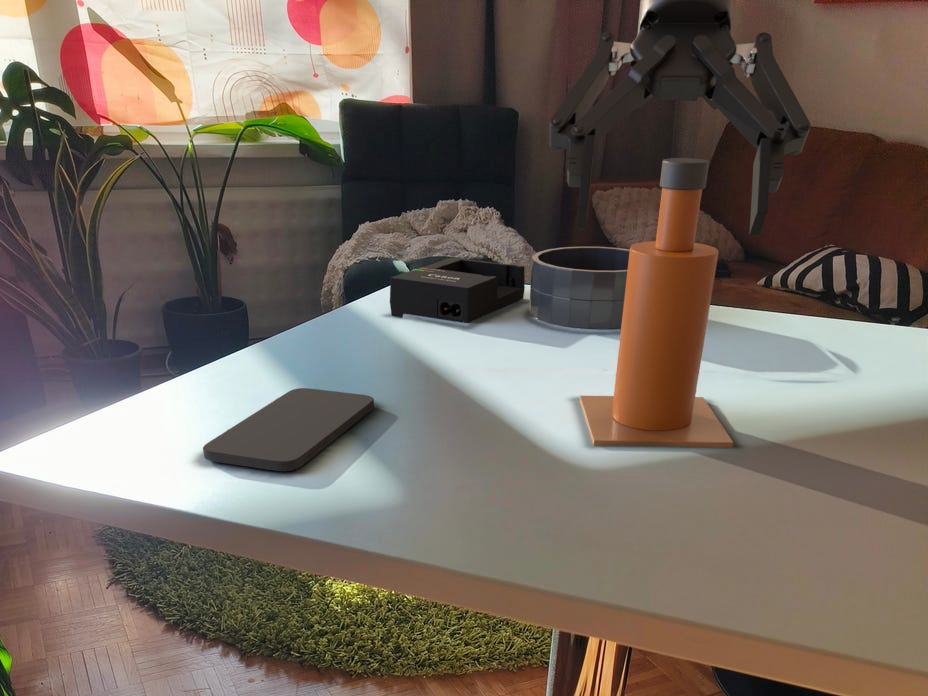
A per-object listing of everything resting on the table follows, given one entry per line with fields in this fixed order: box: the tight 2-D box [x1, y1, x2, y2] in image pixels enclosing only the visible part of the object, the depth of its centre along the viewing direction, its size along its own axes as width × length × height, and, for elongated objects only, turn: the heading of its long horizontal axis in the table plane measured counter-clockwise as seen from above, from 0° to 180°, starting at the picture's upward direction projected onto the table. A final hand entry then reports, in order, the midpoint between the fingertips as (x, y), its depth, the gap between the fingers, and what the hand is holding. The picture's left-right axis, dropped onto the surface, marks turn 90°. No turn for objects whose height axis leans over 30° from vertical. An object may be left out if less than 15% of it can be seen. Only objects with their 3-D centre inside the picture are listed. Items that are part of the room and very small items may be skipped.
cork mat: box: [579, 395, 734, 449], centre depth 68 cm, size 10×10×1 cm
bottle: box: [612, 157, 720, 431], centre depth 63 cm, size 6×6×17 cm
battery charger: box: [389, 257, 526, 324], centre depth 97 cm, size 13×10×4 cm
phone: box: [202, 387, 375, 472], centre depth 66 cm, size 7×1×15 cm
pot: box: [528, 246, 630, 330], centre depth 93 cm, size 13×13×6 cm
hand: (669, 221), depth 70 cm, fingers open, 13 cm apart
